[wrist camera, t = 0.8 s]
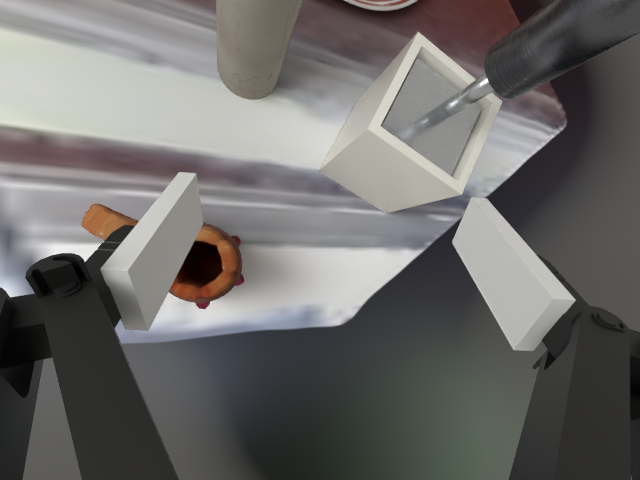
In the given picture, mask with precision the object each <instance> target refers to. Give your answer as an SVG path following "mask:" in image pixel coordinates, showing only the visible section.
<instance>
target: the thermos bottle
mask: <svg viewBox="0 0 640 480" xmlns="http://www.w3.org/2000/svg"><path fill="white" fill-rule="evenodd" d="M302 1H303V0H216V12H217V59H218V72H219V75H220V77H221V79H222V81H223V83H224V84H225V85H226V87H227V88H228V89H229V90H231V91H232V92H233V93H235V94H236V95H238V96H240V97H243V98H247V99H258V98H262V97H264V96H266V95H268V94H269V93H271V91H272V90H273V89H274V88H275V86H276V84H277V81H278V78H279V74H280V71H281V68H282V65H283V62H284V58H285V55H286V52H287V49H288V46H289V42H290V38H291V33H292V30H293V27H294V25H295V22H296V20H297V17H298V14H299V11H300V8H301V4H302Z"/></svg>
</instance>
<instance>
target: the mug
mask: <svg viewBox="0 0 640 480" xmlns="http://www.w3.org/2000/svg"><path fill="white" fill-rule="evenodd" d="M138 222H139V221H137V220H135V219H132V218H130V217H127V216H125V215H123V214H121V213H119V212H116V211H114V210H112V209H110V208H108V207H106V206H103V205H101V204H93V205H92V206H91V207H90V209H89V210H88V211H87V212H86V214H85V217H84V218H83V221H82V222H81V225H82V227H84V228H85V229H86V230H88V231H89V232H90V233H92V234H94V235H96V236H98V237H100V238H102V239H104V240H106V238H107V237H108V236H109V235H110V234H111V233H112V232H113V231H115V230H117V229H118V228H120V227H122V226H123V225H134V226H136V225H137V223H138ZM240 242H241V240H240V239H239V237H238V236H229V235H228V234H227V233H226V232H224V231H223V230H221V229H219V228H218V227H215V226H212V225H209V224H205V223H204V222H203V225H202V227H201V229H200V231H199V233H198V235H197V237H196V239H195V241H194V243H193V245H192V247H191V249H190V251H189V253H188V254H187V256H186V258H185V260H184V262H183V264H182V266H181V268H180V270H179V272H178V274H177V276H176V278H175V280H174V282H173V284H172V286H171V288H170V290H169V291H168V292H170V293H171V294H172V295H174V296H176V297H178V298H180V299H183V300H185V301H189V302H195V303H196V305H197V306H198V308H200V309H206V308H207V306H208V305H209V304H210V301H213V300H216V299H218V298H220V297H222V296H224V295H225V294H226V293H228V292H229V291H230V290H231V289H232V288H233V287H234V286H238V285H240V284H242V283H243V282H244V278H243V275H242V274H241V270H242V259H241V253H240V251H239V248H238V247H239V245H240Z"/></svg>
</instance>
